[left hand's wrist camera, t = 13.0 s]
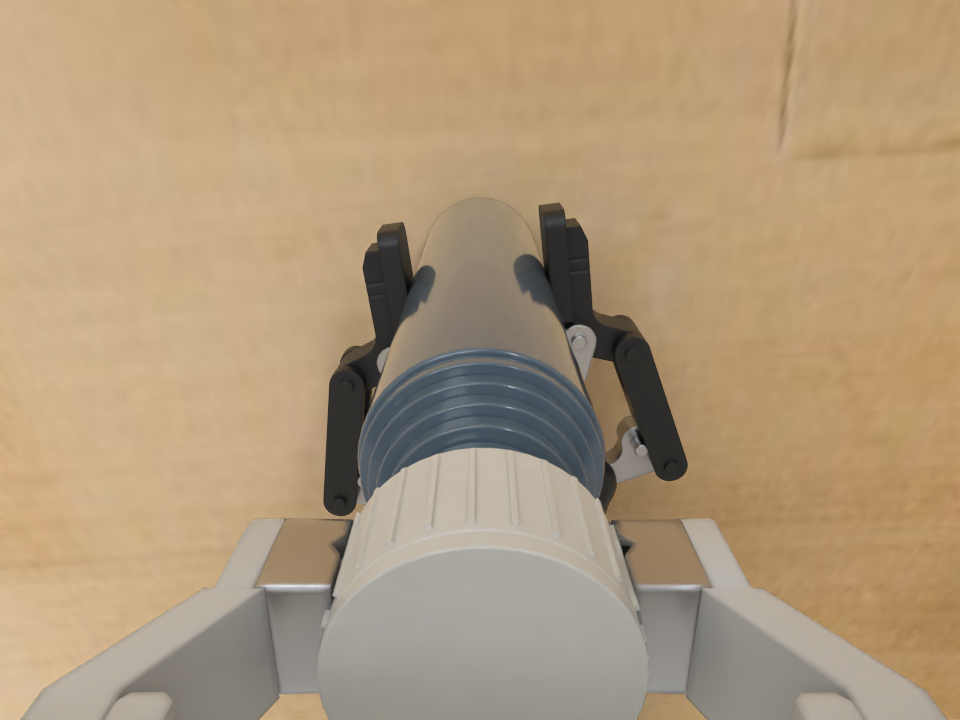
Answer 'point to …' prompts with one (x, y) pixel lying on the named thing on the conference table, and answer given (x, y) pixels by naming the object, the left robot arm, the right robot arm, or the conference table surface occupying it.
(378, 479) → the bottle
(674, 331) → the conference table surface
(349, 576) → the cap
